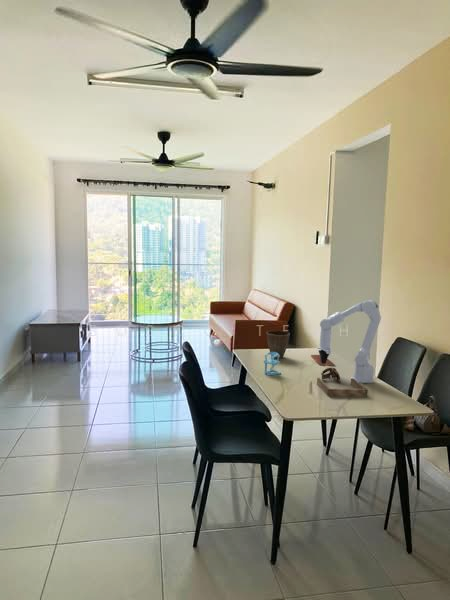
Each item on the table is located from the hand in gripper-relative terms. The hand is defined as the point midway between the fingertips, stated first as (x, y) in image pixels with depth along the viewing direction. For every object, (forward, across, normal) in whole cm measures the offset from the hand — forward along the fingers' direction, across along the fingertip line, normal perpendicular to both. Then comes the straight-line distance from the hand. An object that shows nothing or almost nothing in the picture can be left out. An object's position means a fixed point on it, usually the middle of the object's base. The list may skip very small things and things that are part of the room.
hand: (323, 363), depth 229 cm
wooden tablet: (+7, -28, +9) cm, 30 cm away
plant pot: (+6, -34, -19) cm, 39 cm away
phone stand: (+6, +1, -30) cm, 31 cm away
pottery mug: (+6, +13, +1) cm, 14 cm away
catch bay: (+6, +27, 0) cm, 28 cm away
